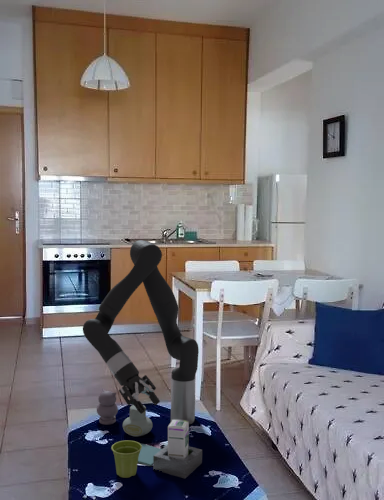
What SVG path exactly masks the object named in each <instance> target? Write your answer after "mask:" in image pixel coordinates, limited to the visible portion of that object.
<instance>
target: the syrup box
mask: <svg viewBox="0 0 384 500" xmlns="http://www.w3.org/2000/svg"><path fill="white" fill-rule="evenodd" d="M189 427H190V424H189V421H186V420H173V419H172V421H171V420H170V423H169V424H168V426H167V445H168V457H172V458H175V459H179V460H184V459H185V458H186V457H188V456H189V446H190V444H189V443H190V442H189V440H190V439H189Z"/></svg>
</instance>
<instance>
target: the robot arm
mask: <svg viewBox="0 0 384 500" xmlns="http://www.w3.org/2000/svg"><path fill="white" fill-rule="evenodd" d="M129 256H130V260H131V262H132V263H133V266H132V268H131V270H130V271H129V272H128V274H126V275H125V276H124V277H123V278H122V279H121V280H120V281H118V283H116V284H115V285H114V286H113V287H112V288H111V289H110V290H109V292H108V293H107V295H106V296H105V297H104V299H103V300H102V301H101V303H100V305H99V307H98V313H97V315H96V317H95V318H90V319H88V320H86V321H85V322H84V324H83V326H82V332H83V335H84V337H85V339H87V341H88V342H89V344H90V345H91V346H92V347H93V348H94V349H95V350H96V351H97V352H98V353H99V355H100V357H101V358H102V360H103V361H104V363H105V364H106V365H107V367H108V369H109V371H110V372H111V374H112V375H113V377H114V378H115V379H116V380H117V382H118V384H119V385H120V386H121V388H119V390H118V391H119V393H120V395H121V396H122V398H123V400H124V402H125V403H126V404H127V405H128V406H130V405H131V406H132V405H134V406H135V407H136V409H137V410H138V411H139V412H140V413H141V414H142V413H144V412H145V411H146V412H147V408H146V409H145V407H146V406H145V405H144V404H143V403H142V402H141V401H140V399H139V398H140V397H139V394H144V395H146V396H148V399H150V401H151V402H152V403H153V405H154V406H156V405H158V404H159V403H160V402H161V401H160V399H159V397H157V394H156V393H155V390H156V389H157V387H156V386H155V384H154V383H153V382H152V381H151V378H149V377H148V376H147V375H146V374H144V375H143V376H142V377H141V376H140V375H139V374H140V371H139V370H138V368H137V367H136V366H135V364H134V363H133V362H132V360H131V359H130V357H129V356H128V355H127V353H126V352H125V351H124V350H123V349H122V347H121V346H120V344H119V343H118V342H117V341H116V340H115V339H113V338H112V337H111V335H110V334H109V332H110V331H111V329H112V327H113V324H114V322H115V320H116V318H117V317H118V315H119V314H120V313H121V311H122V309H123V308H124V306H125V305H126V303H127V302H128V301H129V299H130V298H131V296H132V295H133V294H134V292H135V291H136V290H137V289H138V288H139V287H140V285H141V284H143V286H144V289H145V292H146V294H147V298H148V300H149V303H150V305H151V307H152V310H153V313H154V315H155V317H156V319H157V322H158V324H159V327H160V329H161V331H162V336H163V339H164V343H165V346H166V350H167V353H168V354H169V356H170V357H171V358H173V359H175V360H178V361H179V367H176V368H174V369H172V370H171V383H170V384H171V387H170V388H171V391H170V392H171V393H170V394H171V395H170V422H171V421H172V419H173V420H186V421H189V425H192V424H193V423H195V419H196V374H197V371H198V367H199V365H198V363H199V354H200V353H199V352H200V351H199V350H200V349H199V344H198V342H197V340H195V339H194V338H191V337H187V336H184V335H183V334H182V333H181V331H180V329H179V326H178V322H177V321H178V317H179V305H178V300H177V299H176V297H175V294H174V292H173V289H172V288H171V287H170V285H169V283H168V282H167V281H166V279H165V278H164V276H163V275H162V274H161V272H160V270H159V267H158V266H159V264H160V263H161V260H162V256H163V254H162V250H161V248H160V247H159V246H158V245H156V244H155V243H152V242H149V241H147V240H141V239H139V240H136V241H134V242H133V244H132V245H131V247H130V250H129ZM143 405H144V406H145V407H144V406H143Z"/></svg>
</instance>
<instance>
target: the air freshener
mask: <svg viewBox="0 0 384 500" xmlns="http://www.w3.org/2000/svg"><path fill="white" fill-rule="evenodd" d="M142 405H143V406H144V407H145V409H146V411H145V412H144V413H142V414H141V413H140V412H139V411H138V410H137V409H136V407H135V406H134V405H132V404H131V406H130V407H129V417H127V418H125V419H124V420H123V422H122V428H123V431H124V433H126V434H128V435H129V436H132V437H135V438H136V437H142V436H145V435H147V434H148V433H150V432H151V430H152V428H153V422H152V419H150V418H149V417H148V416H147V413H146V412H147V407H146V405H144V404H142Z"/></svg>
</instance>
